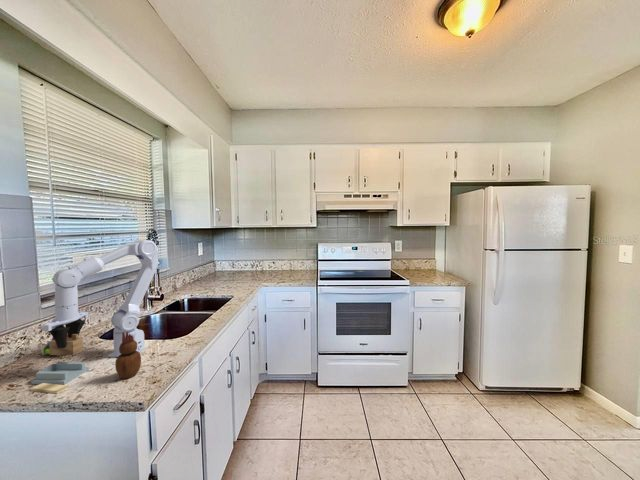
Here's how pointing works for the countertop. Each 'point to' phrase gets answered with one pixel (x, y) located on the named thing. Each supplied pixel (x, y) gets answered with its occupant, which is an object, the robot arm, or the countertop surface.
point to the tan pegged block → (67, 346)
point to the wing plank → (49, 388)
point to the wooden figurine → (128, 357)
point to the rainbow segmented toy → (47, 348)
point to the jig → (60, 373)
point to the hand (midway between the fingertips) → (67, 345)
